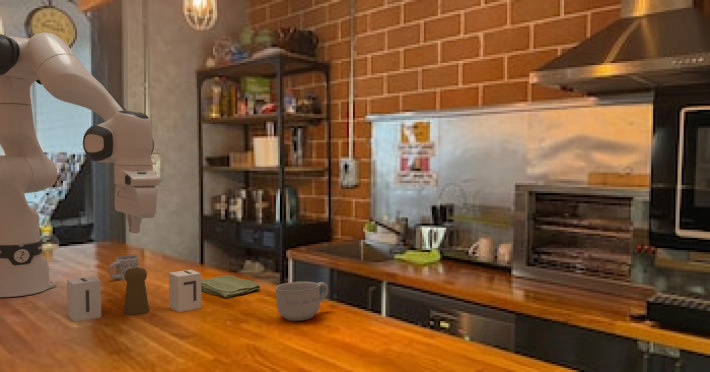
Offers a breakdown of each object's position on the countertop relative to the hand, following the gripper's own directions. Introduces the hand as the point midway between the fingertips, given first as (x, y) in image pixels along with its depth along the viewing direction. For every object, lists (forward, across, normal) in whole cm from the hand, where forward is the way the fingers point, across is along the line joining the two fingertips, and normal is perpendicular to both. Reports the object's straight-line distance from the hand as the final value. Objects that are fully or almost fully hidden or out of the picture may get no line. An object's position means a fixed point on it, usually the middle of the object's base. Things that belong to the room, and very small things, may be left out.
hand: (134, 232), depth 135 cm
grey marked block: (+20, -4, -11) cm, 23 cm away
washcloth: (+20, -6, +28) cm, 35 cm away
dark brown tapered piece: (+20, 0, 0) cm, 20 cm away
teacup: (+19, +30, +30) cm, 47 cm away
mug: (+21, -40, +9) cm, 46 cm away
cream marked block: (+20, +4, +11) cm, 23 cm away
